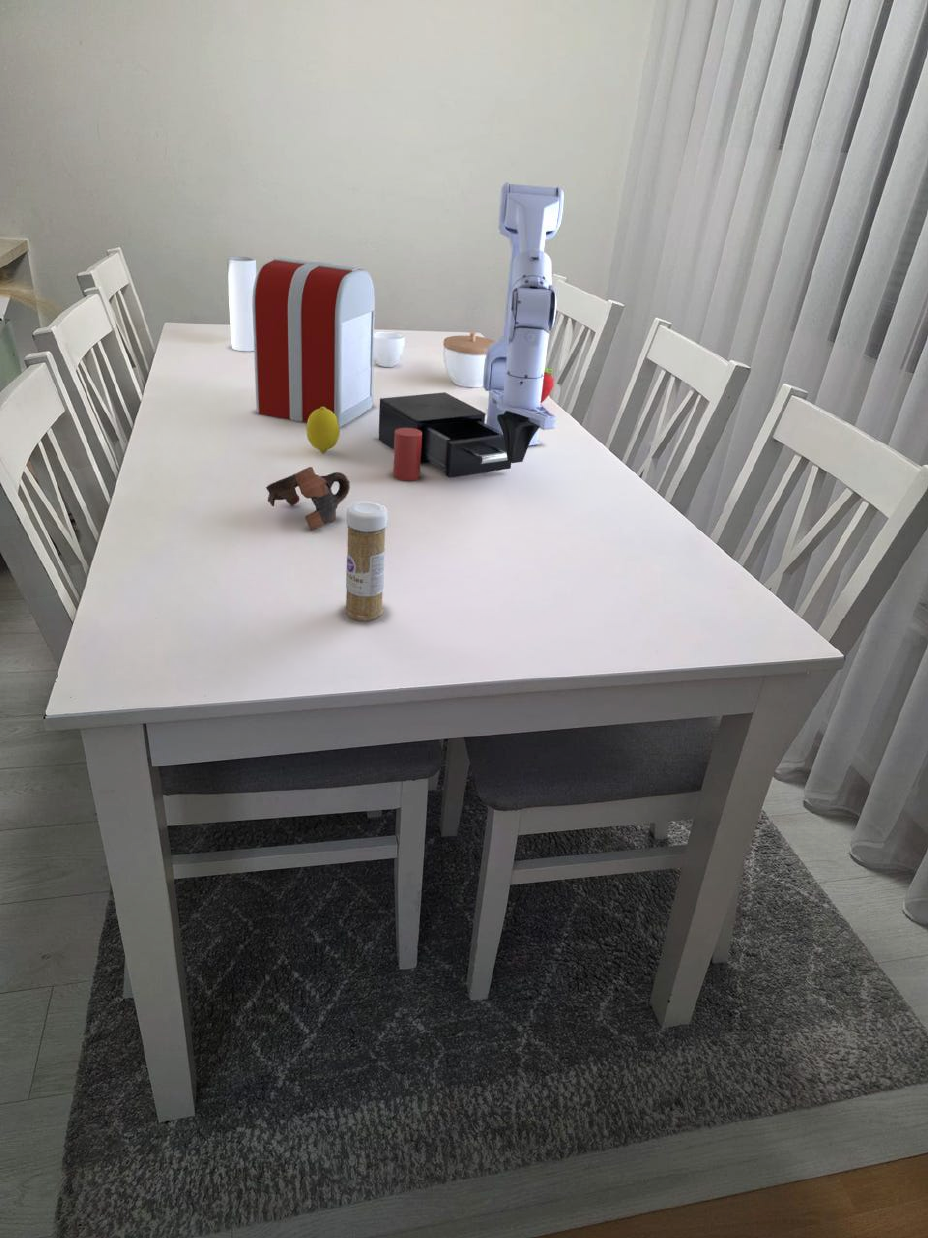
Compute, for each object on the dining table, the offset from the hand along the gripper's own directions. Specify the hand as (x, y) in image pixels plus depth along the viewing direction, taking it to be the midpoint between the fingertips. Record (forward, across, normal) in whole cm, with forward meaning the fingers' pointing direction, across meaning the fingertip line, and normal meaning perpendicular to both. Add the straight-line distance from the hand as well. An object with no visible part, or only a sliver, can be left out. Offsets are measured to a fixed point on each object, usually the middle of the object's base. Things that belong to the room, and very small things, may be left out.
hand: (515, 461), depth 138 cm
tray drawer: (+5, -13, 0) cm, 14 cm away
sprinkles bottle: (+6, +24, -38) cm, 45 cm away
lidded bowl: (+6, -60, +31) cm, 68 cm away
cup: (+2, -79, +20) cm, 82 cm away
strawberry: (+6, -40, +35) cm, 53 cm away
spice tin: (+6, -14, -11) cm, 19 cm away
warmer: (+6, -26, 0) cm, 26 cm away
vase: (+6, -102, -3) cm, 103 cm away
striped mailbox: (+6, -52, -10) cm, 54 cm away
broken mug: (+6, -5, -32) cm, 33 cm away
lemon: (+6, -30, -19) cm, 36 cm away
